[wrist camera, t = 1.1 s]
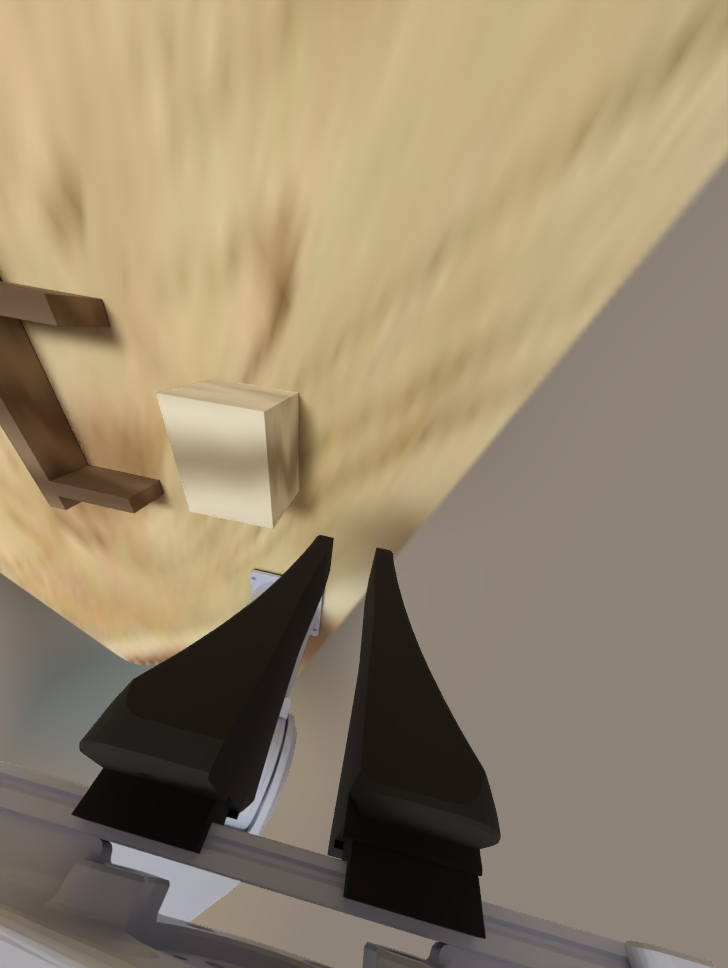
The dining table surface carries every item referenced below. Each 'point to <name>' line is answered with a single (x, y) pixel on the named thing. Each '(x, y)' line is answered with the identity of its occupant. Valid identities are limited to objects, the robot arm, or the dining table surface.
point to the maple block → (235, 448)
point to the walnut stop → (54, 406)
